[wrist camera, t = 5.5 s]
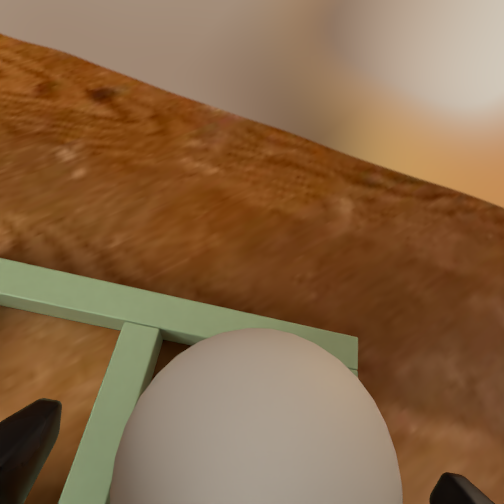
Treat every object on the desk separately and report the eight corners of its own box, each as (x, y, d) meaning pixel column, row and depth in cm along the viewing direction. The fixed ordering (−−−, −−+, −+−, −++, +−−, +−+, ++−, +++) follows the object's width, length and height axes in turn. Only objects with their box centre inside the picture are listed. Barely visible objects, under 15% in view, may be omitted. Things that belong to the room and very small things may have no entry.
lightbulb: (214, 341, 16) (258, 234, 6) (312, 426, 15) (532, 448, 6) (117, 455, 13) (-59, 566, 4) (229, 567, 12) (384, 1104, 3)
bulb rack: (325, 619, 12) (355, 664, 10) (-227, 541, 11) (-334, 574, 8) (336, 346, 17) (358, 337, 15) (-41, 264, 16) (-78, 239, 13)
